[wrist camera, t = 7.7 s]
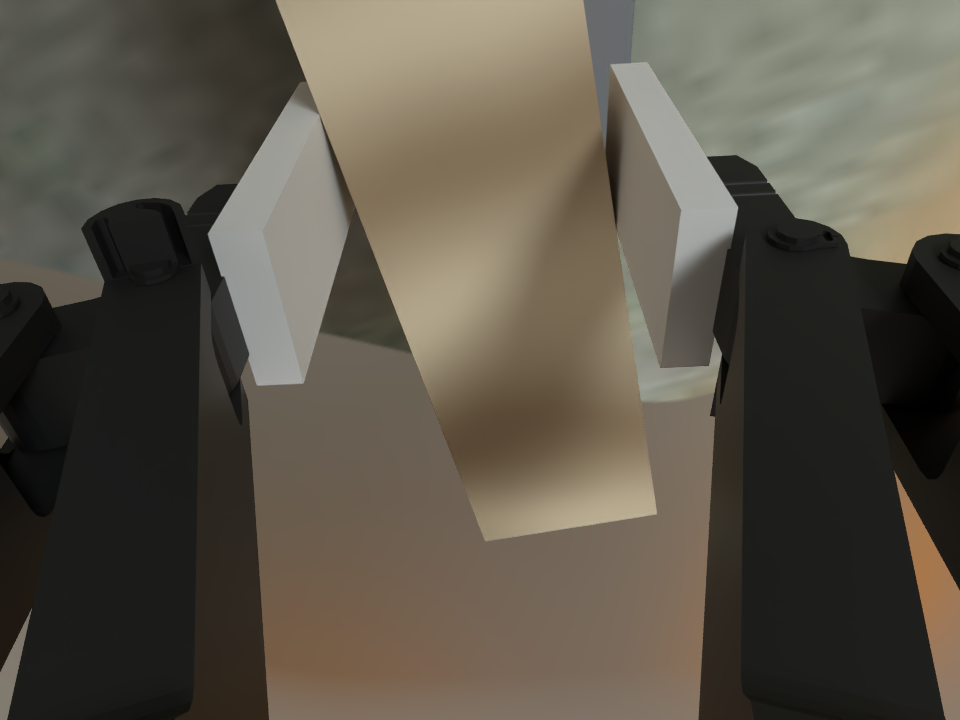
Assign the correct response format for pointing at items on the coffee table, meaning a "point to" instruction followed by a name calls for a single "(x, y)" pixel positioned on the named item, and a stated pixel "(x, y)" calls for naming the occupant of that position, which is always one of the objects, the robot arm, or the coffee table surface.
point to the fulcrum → (608, 43)
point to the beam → (492, 240)
